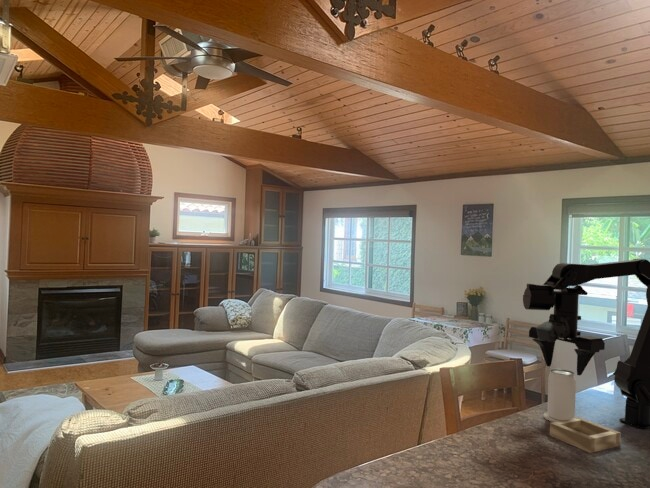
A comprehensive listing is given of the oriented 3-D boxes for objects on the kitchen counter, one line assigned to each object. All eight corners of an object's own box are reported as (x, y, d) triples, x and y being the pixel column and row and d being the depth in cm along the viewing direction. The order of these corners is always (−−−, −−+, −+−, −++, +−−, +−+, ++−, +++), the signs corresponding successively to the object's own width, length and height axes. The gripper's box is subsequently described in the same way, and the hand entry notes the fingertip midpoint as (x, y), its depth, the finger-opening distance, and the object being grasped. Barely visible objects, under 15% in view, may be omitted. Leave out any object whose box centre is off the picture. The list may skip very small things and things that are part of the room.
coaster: (557, 412, 135) (557, 410, 135) (584, 422, 128) (584, 420, 128) (537, 416, 132) (537, 413, 132) (563, 426, 125) (563, 424, 125)
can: (577, 422, 126) (579, 375, 126) (550, 420, 127) (552, 373, 127) (570, 414, 132) (572, 369, 132) (544, 411, 133) (546, 367, 133)
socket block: (578, 429, 123) (579, 417, 123) (620, 445, 114) (620, 432, 114) (549, 435, 119) (550, 422, 118) (590, 452, 109) (590, 439, 109)
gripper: (515, 307, 134) (513, 364, 134) (576, 317, 118) (574, 383, 118) (544, 306, 139) (542, 361, 139) (607, 316, 122) (604, 379, 123)
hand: (563, 370), depth 130 cm, fingers open, 9 cm apart
